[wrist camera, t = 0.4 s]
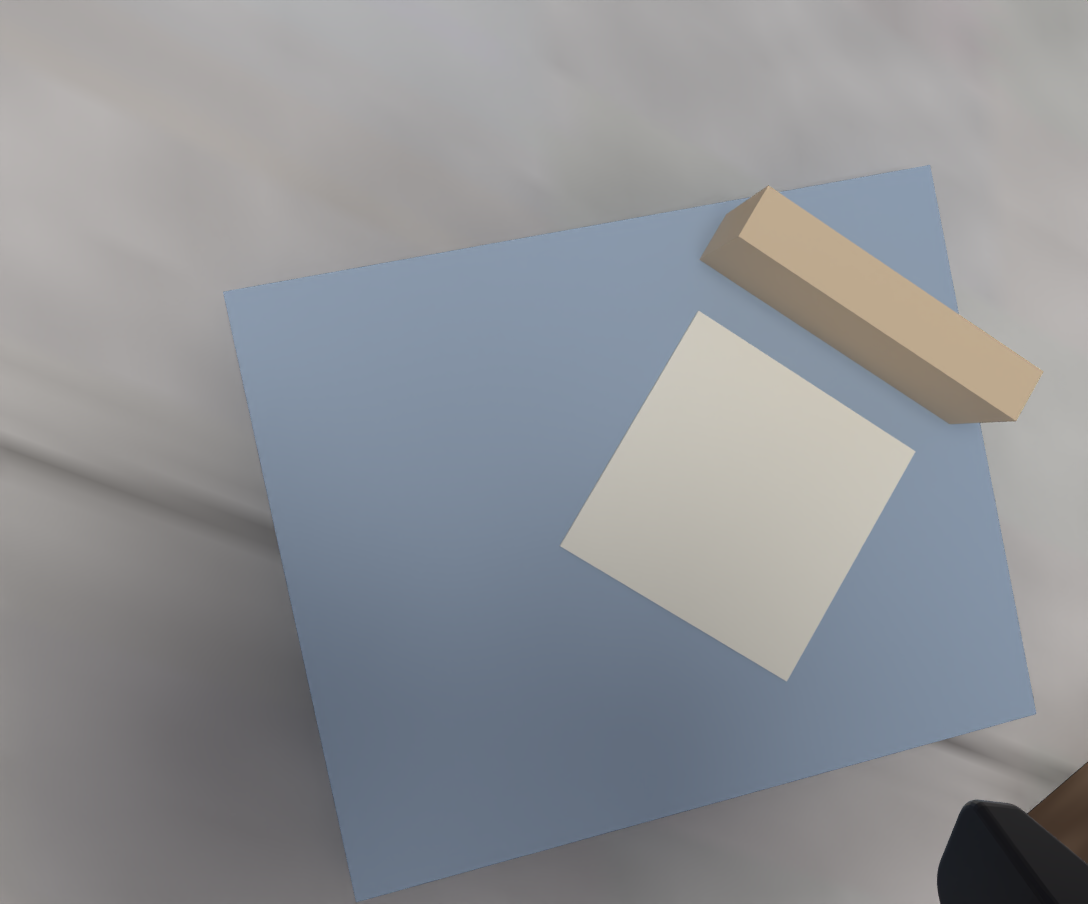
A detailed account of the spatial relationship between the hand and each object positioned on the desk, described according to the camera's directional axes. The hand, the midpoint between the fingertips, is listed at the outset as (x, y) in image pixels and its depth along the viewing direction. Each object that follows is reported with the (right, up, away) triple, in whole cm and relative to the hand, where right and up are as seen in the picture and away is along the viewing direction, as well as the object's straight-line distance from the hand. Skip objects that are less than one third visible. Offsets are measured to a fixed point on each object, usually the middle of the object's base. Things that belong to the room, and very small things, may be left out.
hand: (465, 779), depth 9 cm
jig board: (+3, +1, +15) cm, 15 cm away
